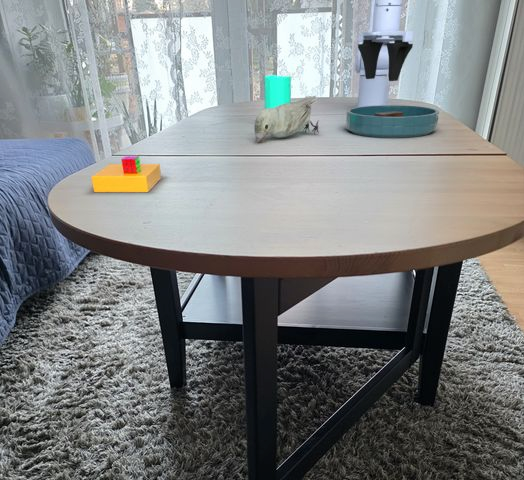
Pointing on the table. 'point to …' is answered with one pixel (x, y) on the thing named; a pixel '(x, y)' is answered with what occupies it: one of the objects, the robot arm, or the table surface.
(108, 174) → the yellow slab
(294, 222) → the table surface
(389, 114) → the brown block
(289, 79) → the candle
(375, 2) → the robot arm
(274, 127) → the decorative bird
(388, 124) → the bowl
